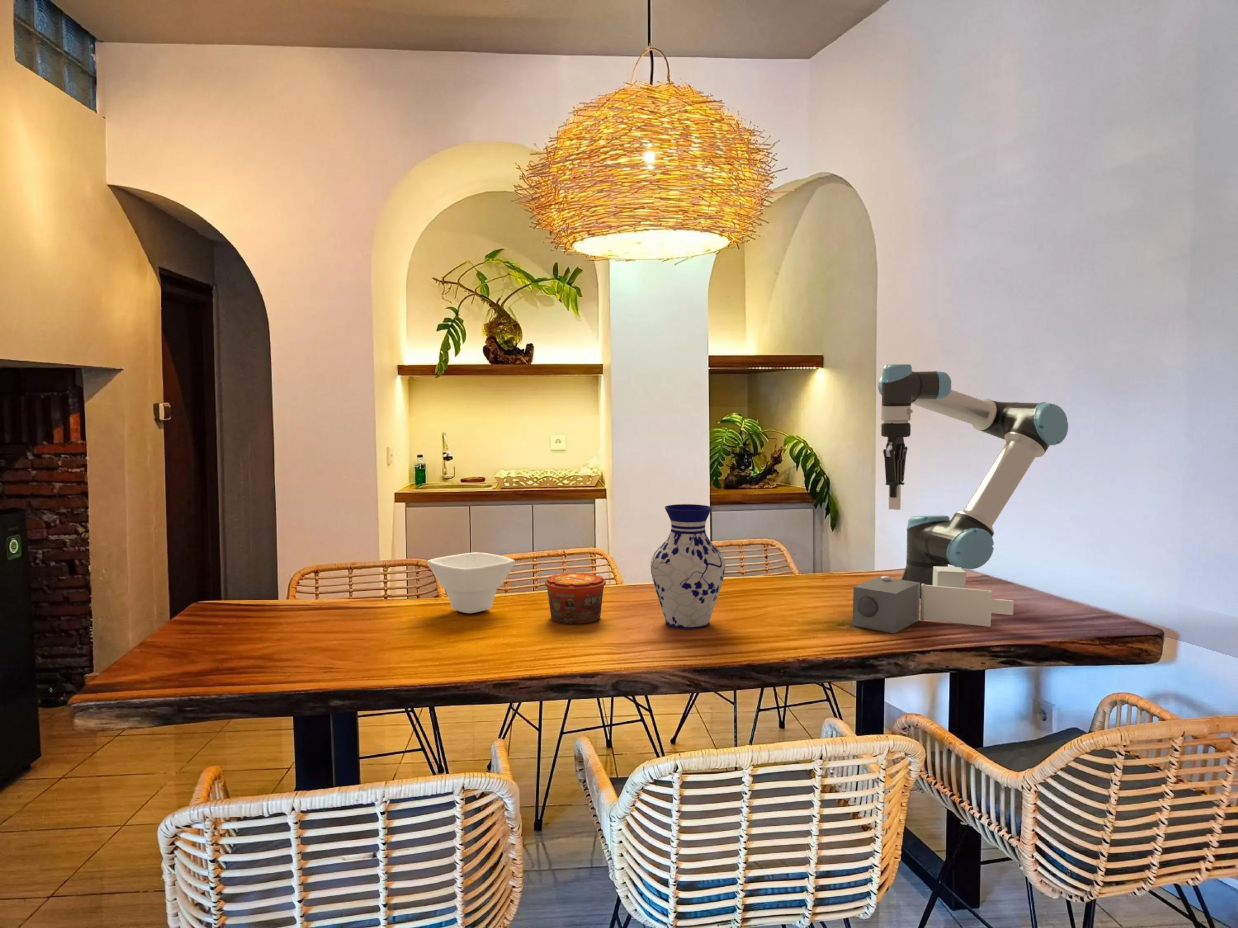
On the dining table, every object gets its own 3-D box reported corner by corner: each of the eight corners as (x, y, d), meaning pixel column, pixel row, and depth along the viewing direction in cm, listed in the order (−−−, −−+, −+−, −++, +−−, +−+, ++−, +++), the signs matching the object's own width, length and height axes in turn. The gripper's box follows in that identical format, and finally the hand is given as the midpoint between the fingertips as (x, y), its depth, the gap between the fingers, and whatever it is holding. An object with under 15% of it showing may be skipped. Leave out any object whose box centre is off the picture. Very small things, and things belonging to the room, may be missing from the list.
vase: (731, 617, 226) (733, 504, 223) (715, 637, 208) (717, 514, 205) (661, 611, 232) (662, 501, 229) (640, 629, 214) (641, 510, 211)
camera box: (878, 613, 231) (879, 573, 230) (918, 620, 224) (920, 579, 223) (851, 626, 218) (852, 584, 217) (893, 634, 211) (894, 590, 210)
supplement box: (965, 619, 224) (967, 572, 223) (935, 618, 226) (937, 570, 225) (959, 612, 232) (961, 566, 231) (931, 611, 233) (932, 565, 232)
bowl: (521, 610, 232) (521, 559, 231) (463, 624, 218) (462, 570, 216) (478, 599, 244) (478, 550, 243) (421, 611, 230) (420, 560, 229)
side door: (920, 620, 223) (921, 584, 222) (920, 619, 224) (921, 583, 223) (1012, 629, 214) (1014, 592, 213) (1012, 628, 215) (1014, 591, 214)
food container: (534, 623, 220) (534, 581, 219) (560, 608, 235) (559, 569, 234) (592, 629, 214) (592, 587, 213) (614, 613, 229) (614, 574, 228)
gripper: (902, 423, 223) (900, 513, 225) (917, 421, 234) (916, 507, 236) (873, 422, 228) (872, 511, 230) (890, 420, 238) (888, 505, 240)
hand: (894, 509), depth 233 cm, fingers closed
